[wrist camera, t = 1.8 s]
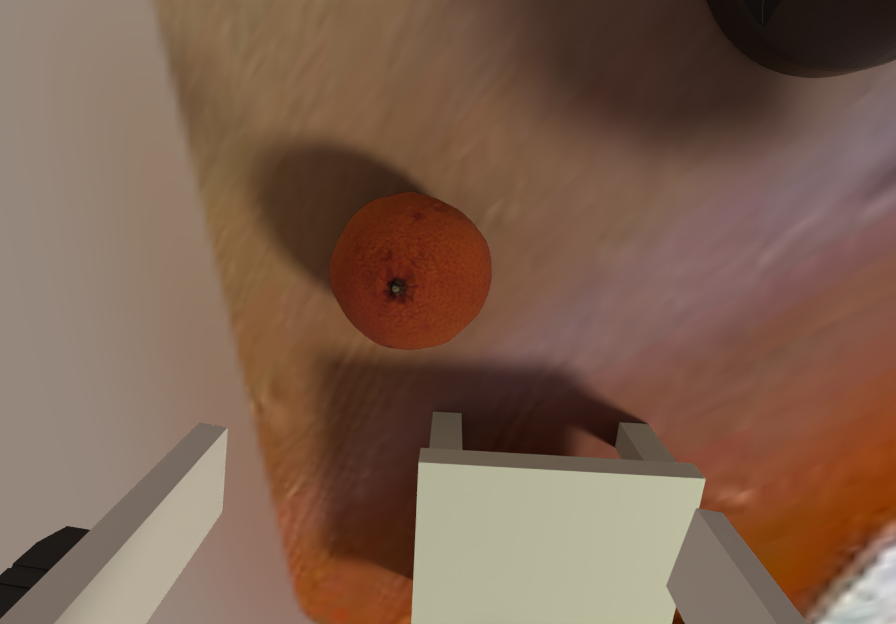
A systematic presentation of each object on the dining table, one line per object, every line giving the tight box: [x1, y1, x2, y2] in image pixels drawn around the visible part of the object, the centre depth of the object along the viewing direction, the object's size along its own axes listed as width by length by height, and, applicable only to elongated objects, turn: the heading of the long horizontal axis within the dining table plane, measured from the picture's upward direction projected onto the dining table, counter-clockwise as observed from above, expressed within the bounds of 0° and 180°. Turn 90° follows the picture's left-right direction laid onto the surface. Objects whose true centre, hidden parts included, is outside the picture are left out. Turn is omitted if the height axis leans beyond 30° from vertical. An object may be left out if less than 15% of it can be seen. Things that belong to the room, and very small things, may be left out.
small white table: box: [411, 412, 706, 624], centre depth 33 cm, size 16×16×7 cm
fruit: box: [329, 192, 492, 350], centre depth 28 cm, size 9×9×8 cm
